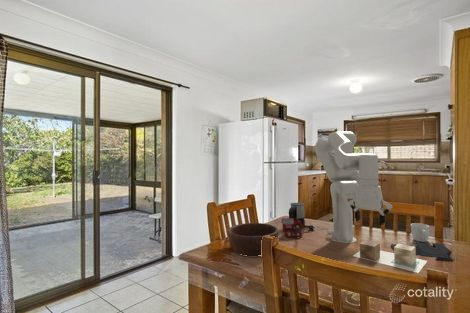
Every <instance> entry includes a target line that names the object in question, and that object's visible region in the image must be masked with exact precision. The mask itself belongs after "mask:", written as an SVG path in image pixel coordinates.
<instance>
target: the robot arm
mask: <svg viewBox="0 0 470 313" xmlns="http://www.w3.org/2000/svg"><path fill="white" fill-rule="evenodd" d="M356 143H357V137H356V134H355V133H354V132H352V131H349V130H348V131H334V132H331V133H330V134H328V136H327V138H322V139H319V140H317V141H316V143H315V146H314V149H315V154H316V156H317V159H318V160H319V162H320V163H321V165H322V167H323V169H324V171H325V174H326V176H327V179H328V181H329V182H331V184H330V188H329V190H330V195H331V201H332V219H333V222H332V223H333V224H332V225H333V227H332V228H333V230H332V229H327V230H326V233H327V235H331V237H330V240H331V241H332V242H338V243H344V244H350V243H351V244H352V243H356V242H357V238H356V237H354V221H353V220H354V219H355V221H356V222H359V221H360V220H361V211H360V210H366V211H367V210H368V211H373V212H374V211H375V212H376V211H377V212H378V213H379V214H380V215H379V225H380V226H383V225H384V224H385V223H386V215H387V214H388V213H389V212H390V211H391V209H393V205H392V204H391V203H389V202H387V201H385V200H384V197H383V191H382V187H381V185H379V183H380V181H379V157H378V155H377V154H375V153H353V151H354V146H355V145H356ZM332 154H333V155H332ZM354 202H355V203H354ZM384 206H386V209H385V210H384ZM353 211H354V215H353ZM353 217H354V219H353Z"/></svg>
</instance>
